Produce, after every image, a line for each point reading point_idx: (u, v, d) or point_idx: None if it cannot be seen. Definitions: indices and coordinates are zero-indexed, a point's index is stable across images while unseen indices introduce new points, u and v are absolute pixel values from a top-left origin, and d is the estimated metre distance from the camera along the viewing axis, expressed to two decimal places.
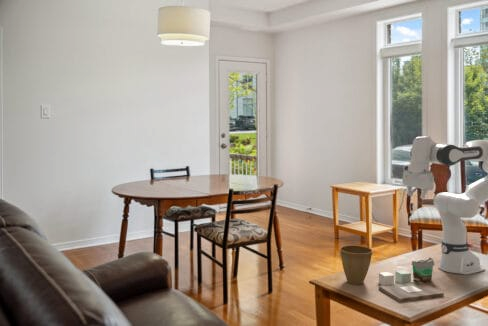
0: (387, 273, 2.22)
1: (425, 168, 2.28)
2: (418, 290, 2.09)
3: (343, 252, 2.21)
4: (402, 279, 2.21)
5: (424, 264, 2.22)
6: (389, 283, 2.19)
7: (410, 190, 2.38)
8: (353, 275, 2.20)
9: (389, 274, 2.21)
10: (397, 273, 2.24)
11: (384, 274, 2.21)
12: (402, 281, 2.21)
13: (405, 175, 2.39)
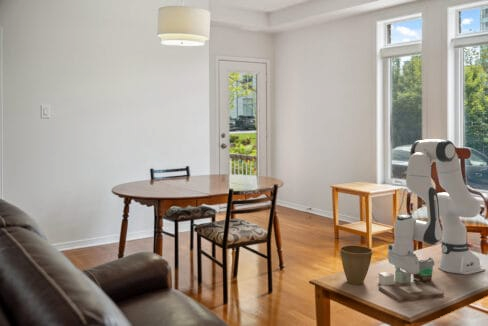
0: (387, 273, 2.22)
1: (409, 250, 2.19)
2: (418, 290, 2.09)
3: (343, 252, 2.21)
4: (402, 279, 2.21)
5: (424, 264, 2.22)
6: (389, 283, 2.19)
7: None
8: (353, 275, 2.20)
9: (389, 274, 2.21)
10: (397, 273, 2.24)
11: (384, 274, 2.21)
12: (402, 281, 2.21)
13: (390, 253, 2.30)
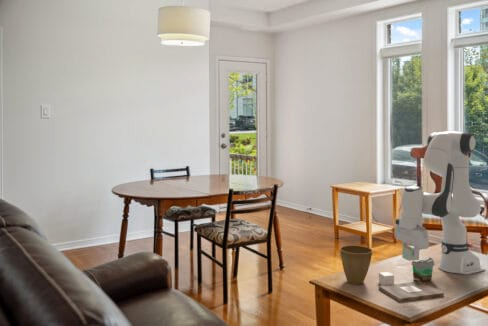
0: (387, 273, 2.22)
1: (418, 223, 2.04)
2: (418, 290, 2.09)
3: (343, 252, 2.21)
4: (410, 254, 2.06)
5: (424, 264, 2.22)
6: (389, 283, 2.19)
7: None
8: (353, 275, 2.20)
9: (389, 274, 2.21)
10: (404, 249, 2.09)
11: (384, 274, 2.21)
12: (410, 257, 2.06)
13: (397, 229, 2.15)
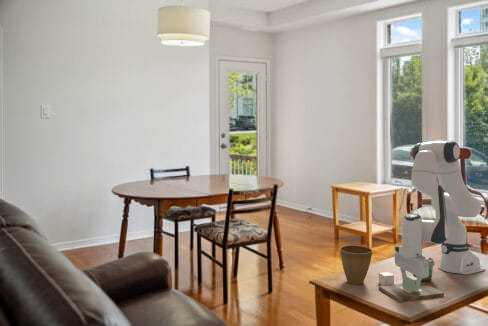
0: (387, 273, 2.22)
1: (418, 252, 2.05)
2: (418, 290, 2.09)
3: (343, 252, 2.21)
4: (410, 285, 2.07)
5: None
6: (389, 283, 2.19)
7: (404, 272, 2.15)
8: (353, 275, 2.20)
9: (389, 274, 2.21)
10: (404, 279, 2.10)
11: (384, 274, 2.21)
12: (410, 288, 2.07)
13: (397, 256, 2.16)
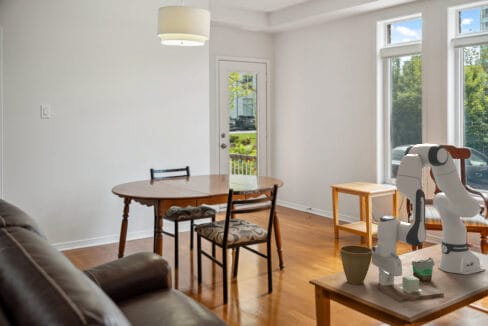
0: (387, 273, 2.22)
1: (392, 251, 2.16)
2: (418, 290, 2.09)
3: (343, 252, 2.21)
4: (410, 285, 2.07)
5: (424, 264, 2.22)
6: (389, 283, 2.19)
7: None
8: (353, 275, 2.20)
9: None
10: (404, 279, 2.10)
11: (384, 274, 2.21)
12: (410, 288, 2.07)
13: (374, 255, 2.28)
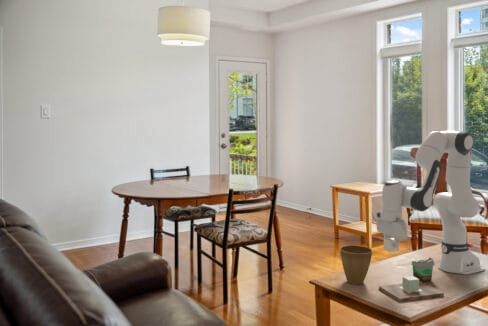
0: (392, 238, 2.19)
1: (397, 216, 2.13)
2: (418, 290, 2.09)
3: (343, 252, 2.21)
4: (410, 285, 2.07)
5: (424, 264, 2.22)
6: (394, 248, 2.16)
7: None
8: (353, 275, 2.20)
9: None
10: (404, 279, 2.10)
11: (389, 239, 2.17)
12: (410, 288, 2.07)
13: (379, 221, 2.24)
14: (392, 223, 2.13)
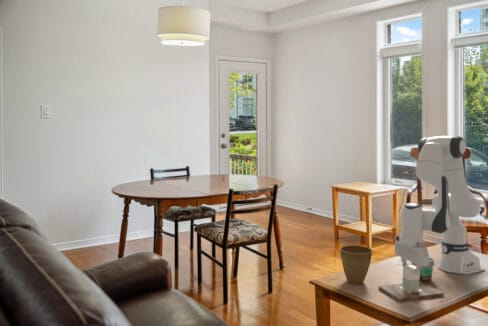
0: (412, 266, 2.10)
1: (418, 240, 2.04)
2: (418, 290, 2.09)
3: (343, 252, 2.21)
4: (410, 285, 2.07)
5: None
6: (414, 277, 2.07)
7: (405, 262, 2.14)
8: (353, 275, 2.20)
9: (414, 267, 2.09)
10: (404, 279, 2.10)
11: (409, 267, 2.09)
12: (410, 288, 2.07)
13: (397, 245, 2.16)
14: (412, 248, 2.05)
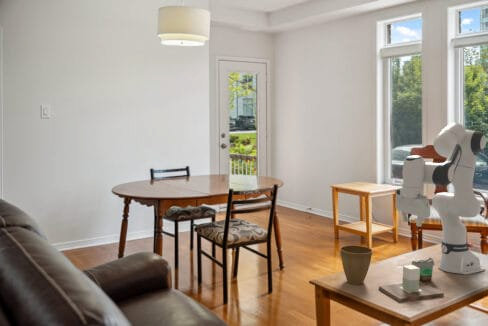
0: (412, 266, 2.10)
1: (419, 192, 2.02)
2: (418, 290, 2.09)
3: (343, 252, 2.21)
4: (410, 285, 2.07)
5: (424, 264, 2.22)
6: (414, 277, 2.07)
7: (405, 216, 2.12)
8: (353, 275, 2.20)
9: (414, 267, 2.09)
10: (404, 279, 2.10)
11: (409, 267, 2.09)
12: (410, 288, 2.07)
13: (398, 199, 2.14)
14: (413, 200, 2.03)
